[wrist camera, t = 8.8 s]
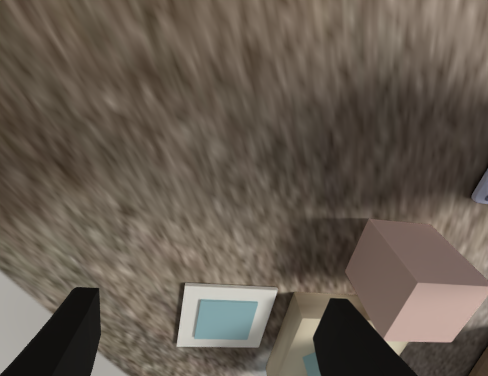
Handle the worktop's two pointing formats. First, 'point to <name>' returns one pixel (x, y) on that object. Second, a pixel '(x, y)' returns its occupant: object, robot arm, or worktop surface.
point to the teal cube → (311, 365)
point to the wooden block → (481, 365)
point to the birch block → (306, 332)
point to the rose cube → (414, 282)
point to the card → (224, 315)
